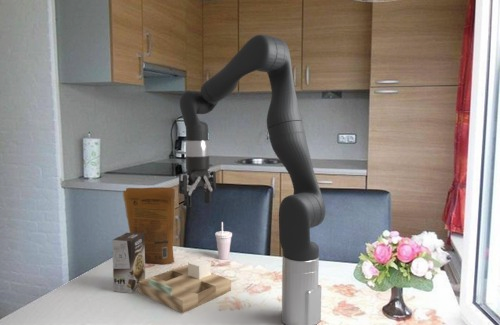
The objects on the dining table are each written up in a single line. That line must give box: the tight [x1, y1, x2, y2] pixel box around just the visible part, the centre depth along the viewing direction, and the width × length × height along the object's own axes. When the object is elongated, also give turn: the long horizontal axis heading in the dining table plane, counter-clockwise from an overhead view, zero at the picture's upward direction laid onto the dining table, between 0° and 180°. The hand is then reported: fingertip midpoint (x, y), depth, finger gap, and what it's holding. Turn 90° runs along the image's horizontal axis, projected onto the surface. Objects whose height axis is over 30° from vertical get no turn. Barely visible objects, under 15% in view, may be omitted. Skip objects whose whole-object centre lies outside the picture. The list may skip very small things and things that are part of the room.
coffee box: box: [112, 232, 146, 294], centre depth 125 cm, size 9×6×16 cm
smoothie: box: [214, 221, 233, 261], centre depth 152 cm, size 6×6×14 cm
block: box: [187, 258, 212, 279], centre depth 126 cm, size 5×5×4 cm
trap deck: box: [138, 264, 232, 314], centre depth 122 cm, size 20×19×6 cm
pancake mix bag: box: [122, 187, 177, 266], centre depth 146 cm, size 7×19×28 cm, turn 79°
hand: (198, 204), depth 130 cm, fingers open, 8 cm apart
